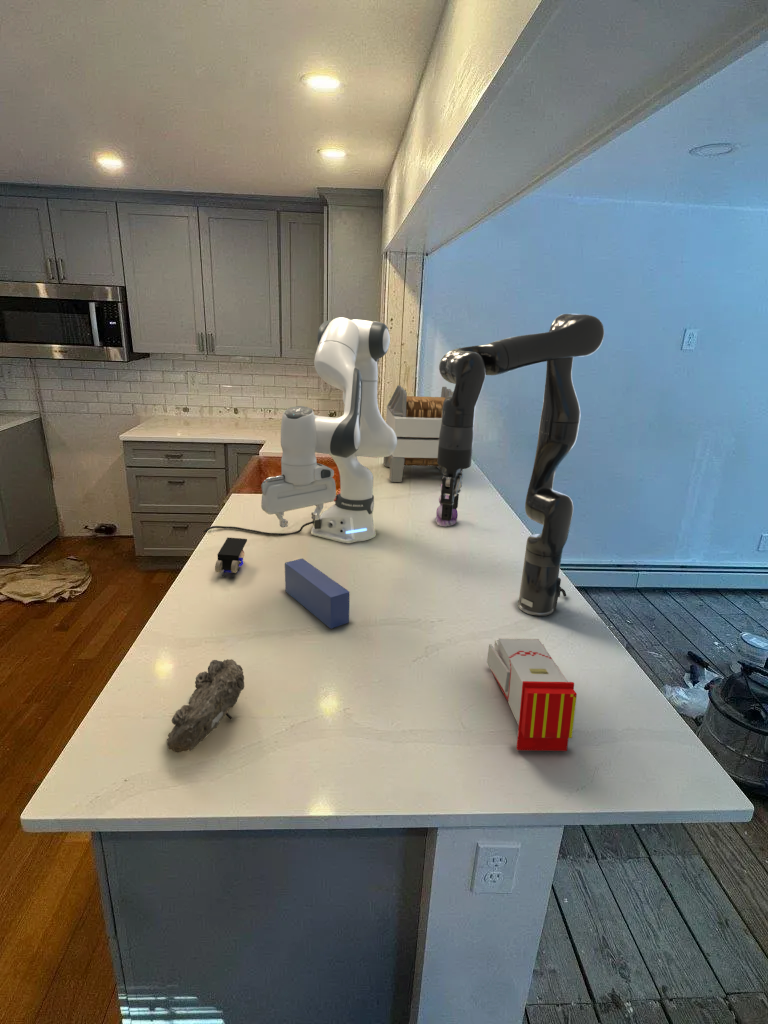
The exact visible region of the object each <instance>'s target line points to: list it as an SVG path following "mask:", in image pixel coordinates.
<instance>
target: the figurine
mask: <svg viewBox="0 0 768 1024" xmlns="http://www.w3.org/2000/svg"><path fill="white" fill-rule="evenodd" d="M441 491H442V483H441V484H440V492H441ZM445 499H449V495H446V497H445ZM440 500H441V494H439V497H438V503H439V506H438V507H437V508H436V513H435V515H436V517H435V521H434V522H435V523H436V524H437V526H440V527H450V526H454V525H455V524H457V520H458V517H459V516H458V514H459V513H458V510H457V509H458V508H457V509H453V510H452V519H451V520H450V521H446V520H442V519H441V517H442V505H443V504H441V503H440Z"/></svg>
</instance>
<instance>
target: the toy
mask: <svg viewBox="0 0 768 1024" xmlns="http://www.w3.org/2000/svg"><path fill="white" fill-rule="evenodd" d="M486 664H487V666H488V667H489V668H490V671H491V672H492V675H493V676H494V679H495V680H496V683H497V684H498V686H499V688H500V690H501V692H502V694H503V695H504V697H505V699H506V701H507V704H508V706H509V708H510V711H511V712H512V715H513V717H514V719H515V722H516V724H517V726H518V728H517V729H518V730H517V741H516V751H535V752H536V751H541V752H544V751H545V752H546V751H547V752H548V751H549V752H550V751H551V752H552V751H553V752H567V751H568V743H569V739H573V731H574V722H575V714H576V706H577V705H576V704H577V697H578V696H577V695H578V694H577V692H576V690H575V682H574V681H569V680H568V679H567V677H566V676H565V675H564V673H563V672H562V670H561V669H560V668H559V666H558V665H557V663H556V662H555V660H554V659H553V657H552V656H551V655H550V653H549V651H547V649H546V646H545V644H543V643H542V641H541V640H540V639H539V638H513V637H512V638H511V637H509V638H508V637H507V638H506V637H498V639H494V645H493V644H488V650H487V657H486Z"/></svg>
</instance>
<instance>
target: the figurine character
mask: <svg viewBox="0 0 768 1024" xmlns="http://www.w3.org/2000/svg"><path fill="white" fill-rule="evenodd" d="M247 542H248V538H240V537H226V539H225V541H224V543H223V544H222V546H221V547H220V549H219V551H218V552H217V560H216V562H215V564H214V572H215V573H221V577H222V578H224V577H225V576H226V574H227V573H230V574H231V573H232V574H231V578H234V577H235V575H236V573H237V572H239V571H240V567H242V566H243V565H244V564H245V562H244V558H245V551H244V547H245V546H246V544H247Z"/></svg>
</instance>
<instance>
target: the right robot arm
mask: <svg viewBox="0 0 768 1024" xmlns="http://www.w3.org/2000/svg"><path fill="white" fill-rule="evenodd" d="M604 337H605V328H604V324H603V323H602V320H600V319H599V318H598V317H597V316H594V315H592V314H584V313H561V314H559V315H558V316H556V317H555V319H553V321H552V323H551V325H550V327H549V331H545V332H538V333H530V334H522V335H515V336H510V337H505V338H503V339H499V340H494V341H492V342H489V343H484V344H479V345H470V346H463V347H458V348H454V349H451V350H449V351H448V352H446V353H445V354H444V355H443V357H442V358H441V359H440V362H439V365H438V369H439V374H440V376H441V377H442V378H443V380H445V381H446V382H448V383H450V384H454V385H455V386H454V389H453V391H454V392H453V391H452V392H453V395H452V396H449V397H447V398H446V399H445V400H444V402H443V409H442V423H441V429H440V433H439V445H438V458H437V463H438V465H439V466H441V467H444V468H446V469H447V471H446V472H445V474H442V478H441V484H442V491H441V490H440V495H441V500H440V503H441V504H443V505H442V517H441V519H442V520H446V521H450V520H451V519H452V510H453V509H458V506H459V496H460V493H461V489H462V487H463V477H464V473H463V472H464V470H466V469H469V468H470V467H471V466H472V458H473V449H474V441H475V439H474V438H475V429H474V428H475V426H474V425H475V417H476V406H477V404H478V401H479V399H480V396H481V392H482V390H483V387H484V384H485V381H486V376H499V375H502V374H507V373H509V372H513V371H516V370H520V369H522V368H523V369H524V368H525V367H531V366H533V365H537V364H541V363H545V362H546V367H545V369H546V370H545V371H546V372H545V383H544V391H543V400H542V407H541V413H540V420H539V426H538V434H537V445H536V450H535V456H534V462H533V467H532V471H531V476H530V479H529V484H528V489H527V493H526V497H525V503H524V511H525V515H526V516H527V517H528V518H529V519H530V520H531V521H534V523H535V522H536V523H537V524H539V525H542V530H541V533H540V532H539V533H534V534H530V535H529V536H528V537H527V539H526V543H525V544H526V545H525V551H524V559H523V567H522V573H521V579H520V588H519V593H518V594H519V595H518V599H517V608H518V609H519V610H520V611H521V612H524V613H525V614H528V615H531V616H537V617H545V616H550V615H552V614H553V613H554V612H556V611H557V607H558V601H559V598H560V597H561V593H562V596H563V597H567V593H566V590H565V589H563V588H562V586H561V583H562V579H561V577H559V575H560V569H561V563H562V556H563V550H564V547H565V545H566V543H567V542H568V538H569V533H570V528H571V526H572V525H571V524H572V520H573V515H574V502H573V500H572V498H571V497H570V496H569V495H567V494H565V493H563V492H559V491H557V490H554V480H555V476H556V473H557V469H558V467H559V466H560V464H561V463H562V462H563V460H564V459H565V458H566V457H567V456H568V454H569V453H570V452H571V450H572V449H573V448H574V447H575V445H576V442H577V439H578V435H579V434H578V433H579V430H580V422H581V414H582V413H581V407H580V406H581V405H580V401H579V399H578V396H577V393H576V389H575V386H574V382H573V365H574V358H582V357H588V356H591V355H593V354H594V353H595V352H596V351H598V349H599V348H601V346H602V343H603V341H604ZM446 495H449V499H445V497H446ZM440 503H439V504H440Z"/></svg>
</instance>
